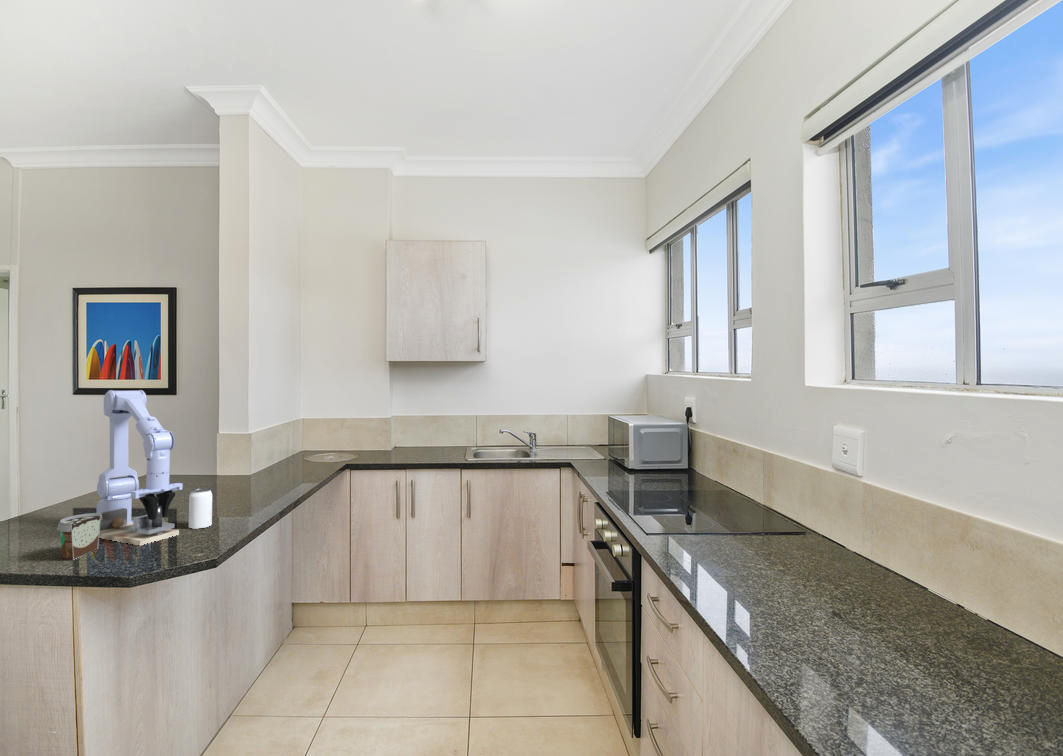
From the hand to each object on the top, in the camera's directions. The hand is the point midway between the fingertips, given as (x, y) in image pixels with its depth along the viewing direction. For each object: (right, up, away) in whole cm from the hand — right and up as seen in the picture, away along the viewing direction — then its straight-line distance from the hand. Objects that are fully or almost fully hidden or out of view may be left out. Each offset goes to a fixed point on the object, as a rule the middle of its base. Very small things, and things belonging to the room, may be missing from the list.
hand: (157, 518), depth 164 cm
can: (+4, -7, +14) cm, 16 cm away
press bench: (-9, -6, +3) cm, 12 cm away
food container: (-12, -6, -15) cm, 20 cm away
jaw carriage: (-1, -4, 0) cm, 4 cm away
